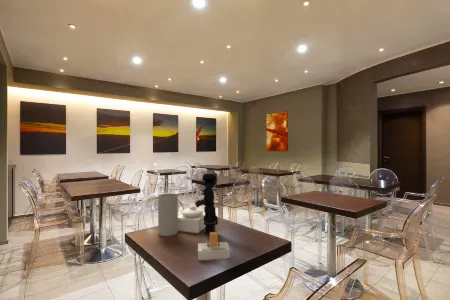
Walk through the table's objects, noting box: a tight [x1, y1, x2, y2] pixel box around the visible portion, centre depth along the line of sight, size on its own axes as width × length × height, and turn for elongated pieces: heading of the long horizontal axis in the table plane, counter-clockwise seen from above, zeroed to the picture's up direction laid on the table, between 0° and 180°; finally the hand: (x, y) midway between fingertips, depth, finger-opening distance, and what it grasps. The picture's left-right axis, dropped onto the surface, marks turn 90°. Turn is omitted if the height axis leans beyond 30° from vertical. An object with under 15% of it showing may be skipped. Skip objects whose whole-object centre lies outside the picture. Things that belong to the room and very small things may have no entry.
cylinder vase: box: [157, 192, 179, 237], centre depth 156 cm, size 12×12×25 cm
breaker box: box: [197, 241, 231, 261], centre depth 125 cm, size 10×16×6 cm, turn 96°
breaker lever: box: [208, 231, 219, 246], centre depth 123 cm, size 2×4×9 cm
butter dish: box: [178, 205, 206, 234], centre depth 168 cm, size 18×18×16 cm
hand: (209, 220), depth 142 cm, fingers closed
